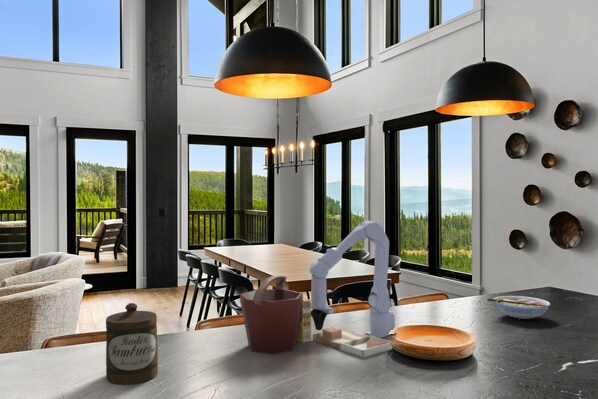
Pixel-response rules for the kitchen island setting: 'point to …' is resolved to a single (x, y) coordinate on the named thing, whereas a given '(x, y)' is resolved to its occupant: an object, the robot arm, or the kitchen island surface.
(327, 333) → the tile far
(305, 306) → the candy box
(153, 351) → the wooden container
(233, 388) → the kitchen island surface
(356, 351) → the tray
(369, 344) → the tile near
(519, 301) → the ramen bowl
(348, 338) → the board
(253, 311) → the bucket
